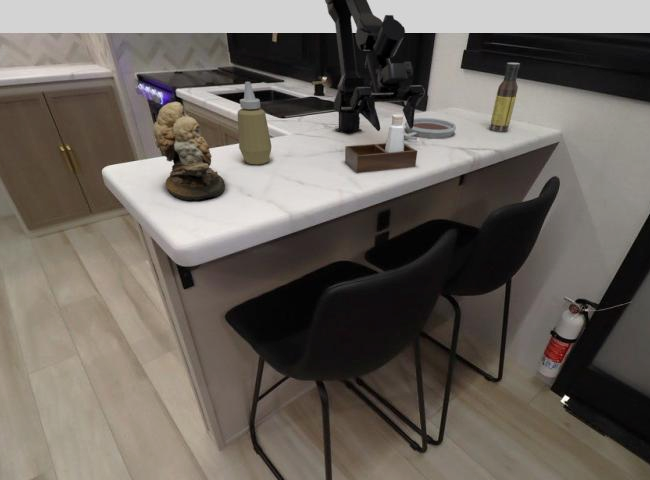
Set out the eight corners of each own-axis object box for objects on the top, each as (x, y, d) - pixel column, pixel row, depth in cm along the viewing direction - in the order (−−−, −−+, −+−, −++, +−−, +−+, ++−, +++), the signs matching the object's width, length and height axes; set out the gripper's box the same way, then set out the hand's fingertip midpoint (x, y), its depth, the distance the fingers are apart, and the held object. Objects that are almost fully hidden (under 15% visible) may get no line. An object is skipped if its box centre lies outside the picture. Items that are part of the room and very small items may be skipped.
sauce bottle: (501, 127, 134) (518, 61, 122) (511, 132, 130) (529, 64, 117) (485, 127, 133) (500, 61, 121) (494, 132, 128) (511, 64, 116)
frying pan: (372, 128, 118) (424, 114, 134) (372, 138, 120) (423, 123, 136) (416, 140, 109) (466, 123, 125) (415, 150, 111) (464, 132, 127)
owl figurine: (237, 196, 80) (223, 107, 69) (180, 208, 74) (154, 114, 64) (210, 170, 91) (194, 91, 81) (159, 179, 86) (134, 95, 75)
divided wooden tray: (345, 162, 100) (345, 146, 97) (400, 156, 104) (402, 141, 102) (357, 172, 93) (357, 156, 91) (415, 166, 98) (417, 150, 96)
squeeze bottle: (279, 159, 99) (272, 81, 88) (261, 168, 93) (251, 86, 82) (254, 154, 102) (244, 78, 91) (234, 163, 96) (221, 82, 85)
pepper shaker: (405, 163, 98) (410, 117, 91) (384, 163, 97) (388, 117, 91) (401, 156, 102) (406, 112, 95) (382, 156, 102) (385, 112, 95)
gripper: (356, 47, 86) (372, 111, 85) (427, 47, 92) (443, 107, 90) (343, 81, 96) (357, 138, 95) (408, 79, 102) (422, 133, 101)
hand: (395, 129), depth 95 cm, fingers open, 9 cm apart
